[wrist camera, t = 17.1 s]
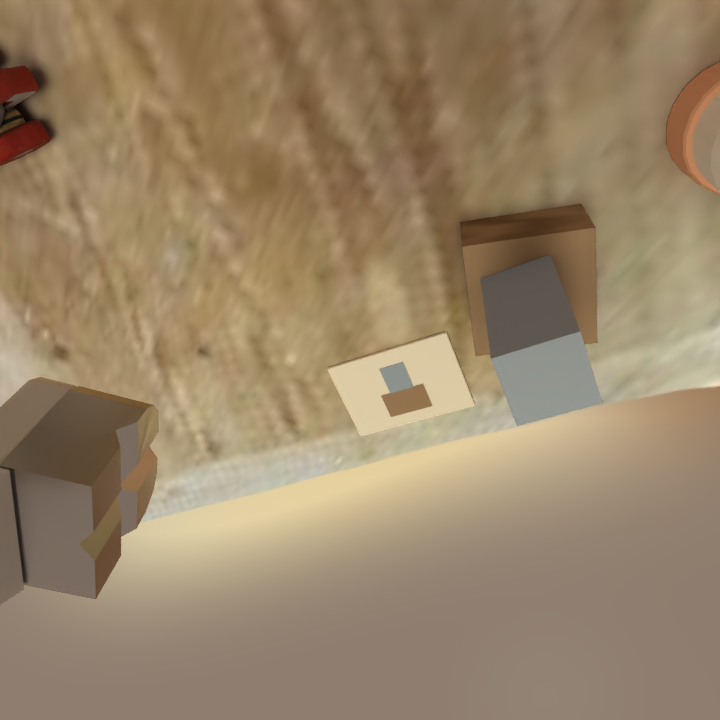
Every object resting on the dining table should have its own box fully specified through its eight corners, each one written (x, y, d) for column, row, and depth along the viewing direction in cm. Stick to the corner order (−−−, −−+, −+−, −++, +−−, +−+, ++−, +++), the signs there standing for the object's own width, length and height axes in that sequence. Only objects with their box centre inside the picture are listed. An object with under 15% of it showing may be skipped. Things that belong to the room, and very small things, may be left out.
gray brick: (501, 336, 43) (517, 425, 34) (480, 278, 41) (491, 358, 32) (569, 315, 42) (602, 403, 33) (550, 254, 40) (580, 331, 31)
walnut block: (472, 322, 48) (475, 355, 44) (460, 221, 44) (462, 246, 40) (583, 309, 47) (597, 342, 42) (580, 202, 43) (595, 227, 38)
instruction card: (361, 434, 54) (360, 436, 54) (327, 367, 51) (326, 370, 51) (474, 403, 52) (474, 406, 51) (446, 331, 48) (446, 333, 48)
